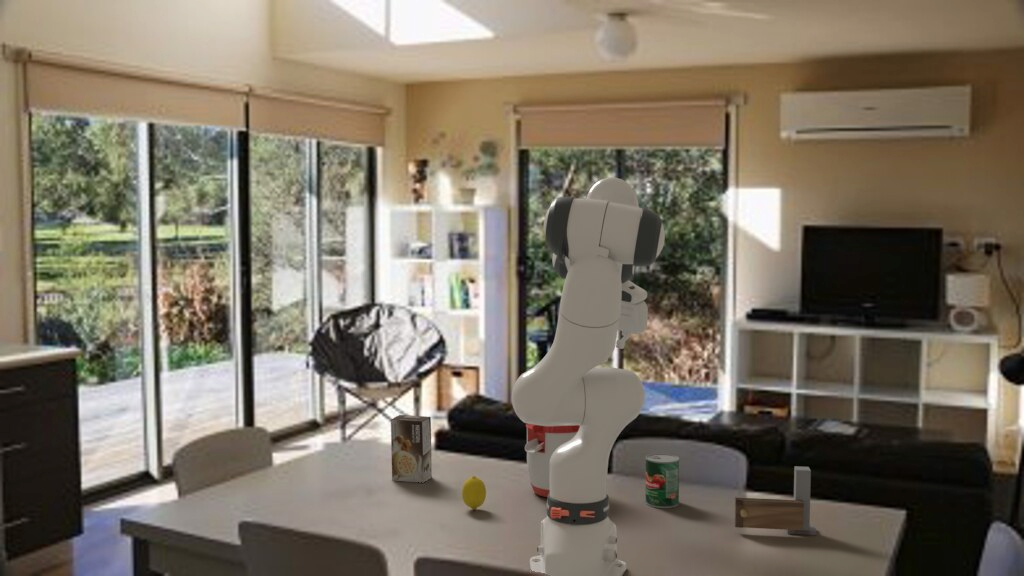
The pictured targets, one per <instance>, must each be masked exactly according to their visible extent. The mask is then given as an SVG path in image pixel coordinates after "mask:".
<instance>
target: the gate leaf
mask: <svg viewBox="0 0 1024 576" xmlns="http://www.w3.org/2000/svg"><path fill="white" fill-rule="evenodd" d="M803 508H804V503H803V500H794V499H782V498H781V499H778V498H777V499H776V498H755V497H736V496H735V497H734V527H735V528H737V529H739V528H741V529H742V528H743V529H744V528H746V529H747V528H748V529H765V530H766V529H771V530H784V531H786V530H803Z"/></svg>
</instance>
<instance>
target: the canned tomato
mask: <svg viewBox="0 0 1024 576" xmlns="http://www.w3.org/2000/svg"><path fill="white" fill-rule="evenodd" d="M679 487H680V457H679V456H677V455H675V454H672V453H671V454H670V453H652V454H651V453H650V454H647V455H646V456H645V504H646V505H647V506H649V507H652V508H658V509H671V508H675V507H679V505H680V499H679V498H680V495H679V493H680V491H679V490H680V489H679Z"/></svg>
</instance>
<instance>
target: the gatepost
mask: <svg viewBox="0 0 1024 576" xmlns="http://www.w3.org/2000/svg"><path fill="white" fill-rule="evenodd" d="M793 469H794V471H793V475H794V476H793V477H794V478H793V500H803V503H804V508H803V530H785V531H786V533H787V534H788V535H802V536H804V535H805V536H807V535H808V536H817V533H818V531H817V529H816V526H815V524H810V521H811V484H812V483H811V482H812V481H811V479H812V478H811V477H812V470H811V469H810V467H809V466H797V465H795V466H794V468H793Z"/></svg>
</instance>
